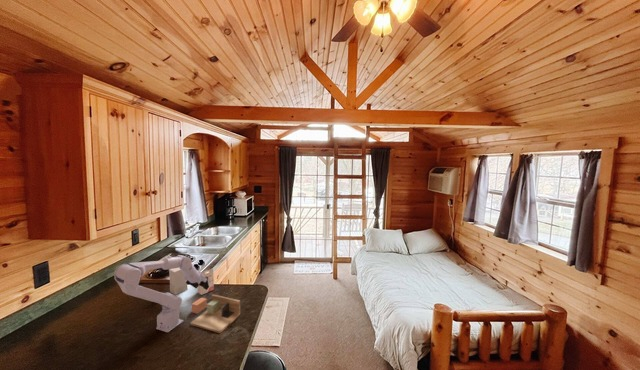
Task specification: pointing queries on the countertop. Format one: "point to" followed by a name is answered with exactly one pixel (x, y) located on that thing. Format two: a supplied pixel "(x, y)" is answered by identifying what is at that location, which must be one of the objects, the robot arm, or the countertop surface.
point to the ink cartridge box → (210, 282)
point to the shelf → (218, 315)
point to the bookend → (226, 311)
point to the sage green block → (213, 306)
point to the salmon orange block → (199, 305)
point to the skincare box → (177, 281)
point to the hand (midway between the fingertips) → (202, 287)
